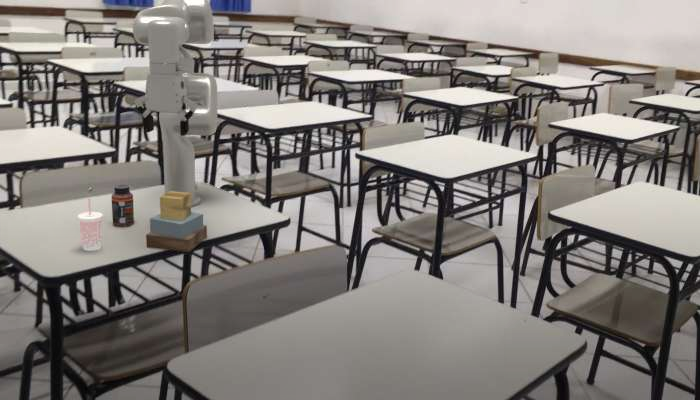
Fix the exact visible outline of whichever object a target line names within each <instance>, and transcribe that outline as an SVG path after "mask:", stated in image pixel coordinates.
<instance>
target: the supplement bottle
mask: <svg viewBox="0 0 700 400" xmlns="http://www.w3.org/2000/svg"><path fill="white" fill-rule="evenodd" d="M111 215H112V216H111V217H112V224H113V225H114V226H117V227H127V226H131V225H133V224H134V223H135V211H134V195H133V193H132V192H131V191H130V185H129V184H118V185H115V186H114V192H113V193H112V194H111Z"/></svg>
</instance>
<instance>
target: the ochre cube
mask: <svg viewBox="0 0 700 400" xmlns="http://www.w3.org/2000/svg"><path fill="white" fill-rule="evenodd" d="M159 205H160V206H159V207H160V208H159V209H160V210H159V212H160V213H159V214H161V219H170V220H179V221H182V220H184V219H185V218H186V217H188V216H189V215H190V214H191V212H192V206H191V194H190V193H186V192H175V191H169V192H167V193H166V194H165V193H164V194H162V195H160V196H159Z"/></svg>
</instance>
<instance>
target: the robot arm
mask: <svg viewBox="0 0 700 400" xmlns="http://www.w3.org/2000/svg"><path fill="white" fill-rule="evenodd" d="M214 27H215V26H214V18H213V11H212V7H211V4H210V2H209V0H163V1H162V3H161V5H158V6H154V7H150V8H144V9H142V10H140V11H139V12H138V13H137V14H136V16H135V18H134V21H133V25H132V34H133V37H134V40H135V41H136V42H137V43H138V44H140V45H142V46H143V45H144V46H148V61H149V62H148V63H149V72H148V73H147V75H146V82H145V91H144V92H145V94H144V95H142V96H139V97H138V98H135V99H134V104H135V106H136V107H137V110H138V111H139V113H140V114H142V115H141V116H142V118H144V128H145V131H146V133H150V132H153V131H154V130H155V126H154V122H155V121H154V116H153V115H152V114H153V113H154V112H155V113H157V112H158V114H159V115H158V117H159V119H158V120H159V125H160V130H161V131H160V132H161V136H162V147H163V148H162V149H163V175H164V179H163V180H164V182H163V183H164V194H166V193H167V192H169V191H175V192H186V193H190V194H191V207H195V206H197V205H199V204H200V203H201V197H200V196H199V195H197V194H196V190H197V189H198V188H199V185H198V184H197V183H196V166H195V165H196V164H195V163H196V161H195V160H196V158H195V153H196V152H195V147H194V145H193V143H192V141H191V140H190V139H189V138H188V137H187V136H211V135H213V134H215V132H216V131H217V127H218V84H217V80H216V78H215V76H214V75H212V74H210V73H206V72H194V71H195V70H194V65H195V63H194V61H195V60H194V58H193V57H192V55H191V54H190V52H189V51H188V50H186V48H185V47H183V46H182V45H184V44H190V45H191V44H193V45H195V44H196V45H207V44H210V43H211V42H212V41H213V39H214V34H215V28H214ZM144 101H145V105H143V102H144Z"/></svg>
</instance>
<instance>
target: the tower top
mask: <svg viewBox="0 0 700 400" xmlns="http://www.w3.org/2000/svg"><path fill="white" fill-rule="evenodd" d="M149 224H150V225H149V226H150V229H149V230H150V232H151V233H156V234H160V235H165V236H170V237H175V238H180V239H183V238H185V237H186V236H188V235H190V234H192V233H194V232H196V231H198V230H200V229H202V228H203V225H204V213H199V212H194V211H191V214H190V215H189V216H188V217H186V218H185V219H184V220H182V221H179V220H170V219H161V213H159V214H157V215H154V216H152V217H150V218H149ZM150 232H149V233H150Z"/></svg>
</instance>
